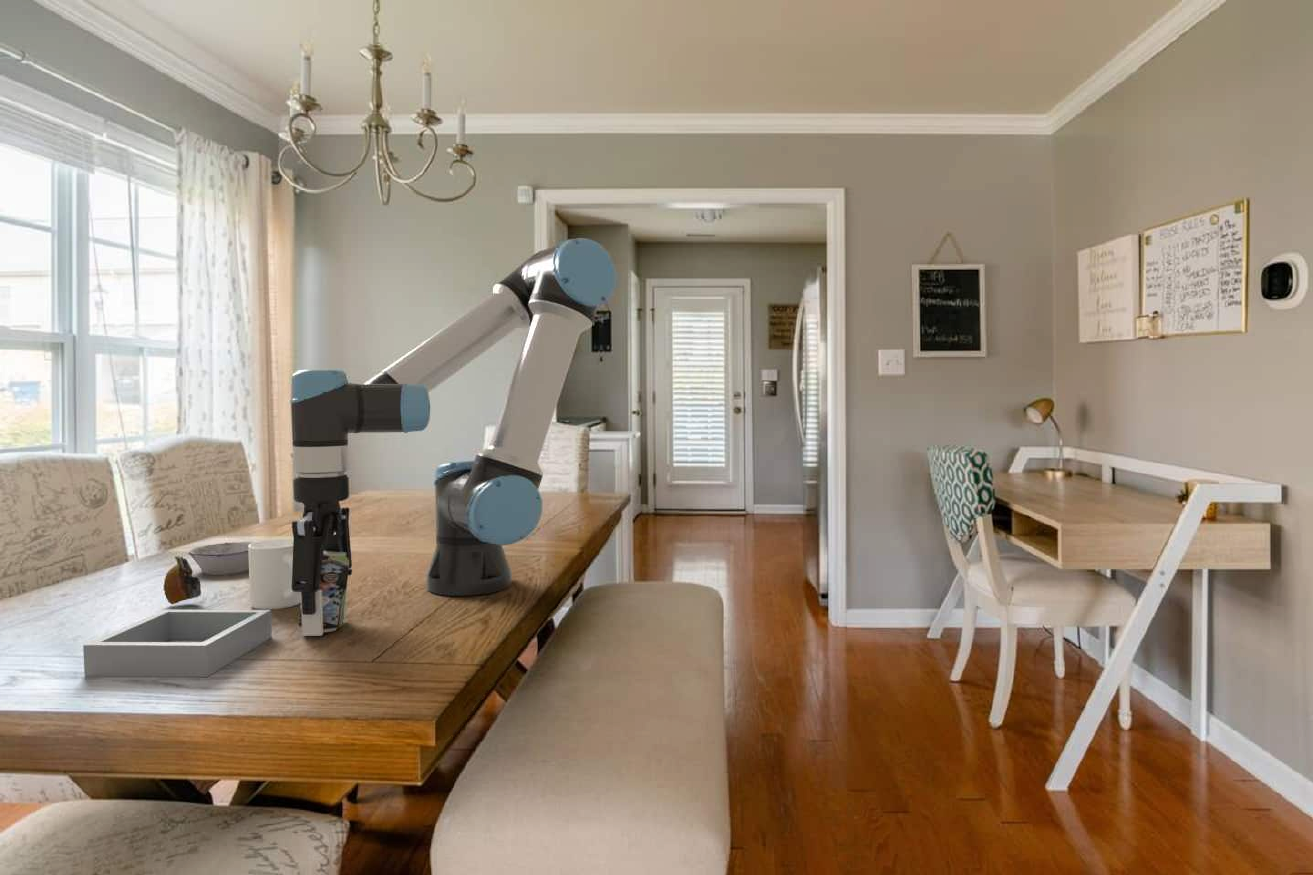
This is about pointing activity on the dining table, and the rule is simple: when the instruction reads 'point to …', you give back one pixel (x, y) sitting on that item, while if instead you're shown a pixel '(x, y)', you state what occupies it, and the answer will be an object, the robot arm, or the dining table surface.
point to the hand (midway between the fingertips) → (324, 626)
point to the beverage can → (332, 589)
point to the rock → (181, 582)
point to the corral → (177, 644)
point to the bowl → (222, 558)
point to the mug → (272, 574)
